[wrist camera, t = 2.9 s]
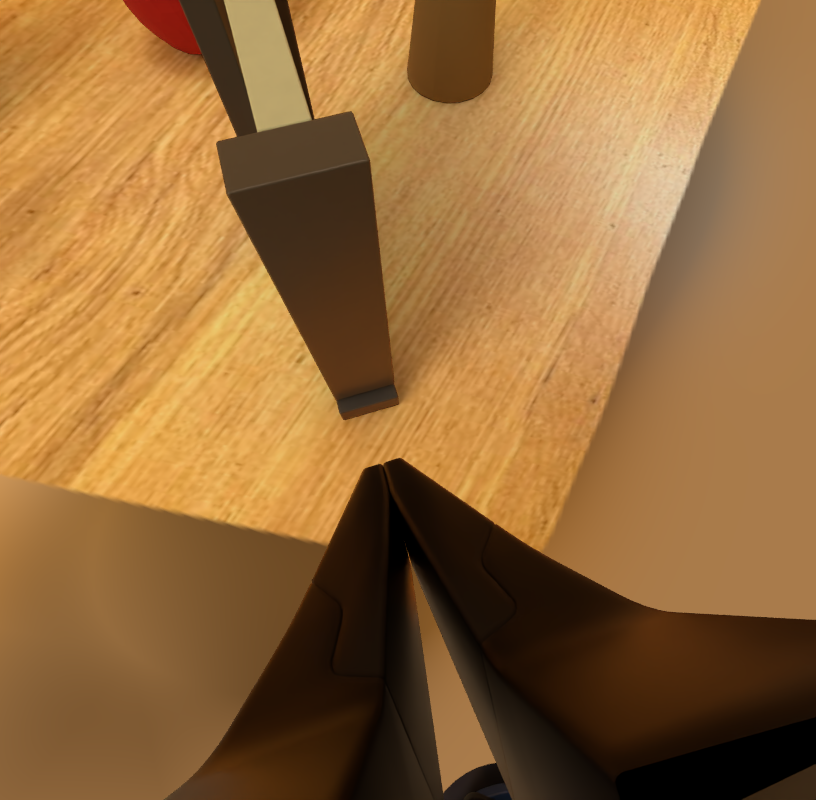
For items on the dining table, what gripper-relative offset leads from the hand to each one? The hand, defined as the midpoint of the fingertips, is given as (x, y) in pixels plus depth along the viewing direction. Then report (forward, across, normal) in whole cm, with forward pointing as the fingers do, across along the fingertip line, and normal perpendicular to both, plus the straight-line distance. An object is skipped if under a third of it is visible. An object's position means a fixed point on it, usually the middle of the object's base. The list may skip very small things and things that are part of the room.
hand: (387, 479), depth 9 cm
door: (+15, 0, 0) cm, 15 cm away
